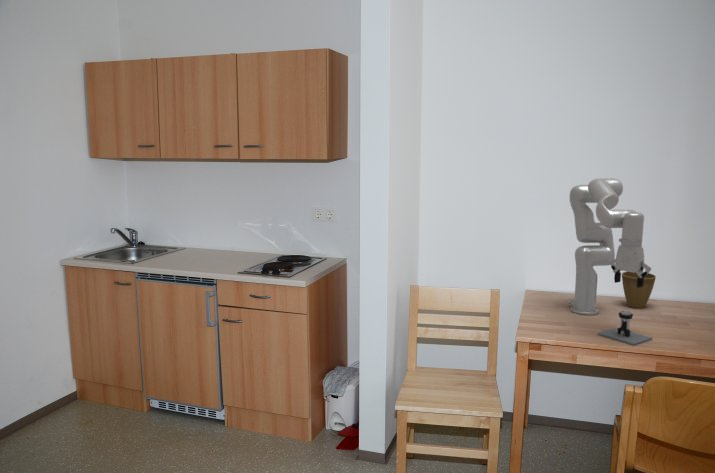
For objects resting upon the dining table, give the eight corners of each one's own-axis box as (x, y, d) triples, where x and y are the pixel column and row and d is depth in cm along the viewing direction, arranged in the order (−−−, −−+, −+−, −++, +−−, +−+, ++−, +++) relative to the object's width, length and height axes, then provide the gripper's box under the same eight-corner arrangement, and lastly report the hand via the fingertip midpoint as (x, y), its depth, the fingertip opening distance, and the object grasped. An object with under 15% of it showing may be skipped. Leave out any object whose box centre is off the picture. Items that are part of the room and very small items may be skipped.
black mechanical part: (611, 333, 241) (613, 310, 240) (619, 331, 244) (621, 308, 242) (625, 338, 236) (627, 314, 234) (634, 335, 238) (635, 312, 237)
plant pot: (614, 302, 291) (616, 271, 288) (643, 302, 291) (646, 271, 288) (627, 310, 276) (630, 278, 274) (659, 310, 276) (661, 278, 274)
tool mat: (597, 334, 242) (597, 332, 242) (616, 329, 249) (616, 327, 249) (633, 345, 229) (633, 343, 229) (652, 339, 236) (652, 337, 236)
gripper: (606, 241, 238) (603, 281, 241) (647, 247, 224) (643, 290, 227) (617, 239, 242) (614, 279, 245) (657, 245, 228) (654, 287, 231)
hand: (628, 284), depth 236 cm, fingers open, 9 cm apart
